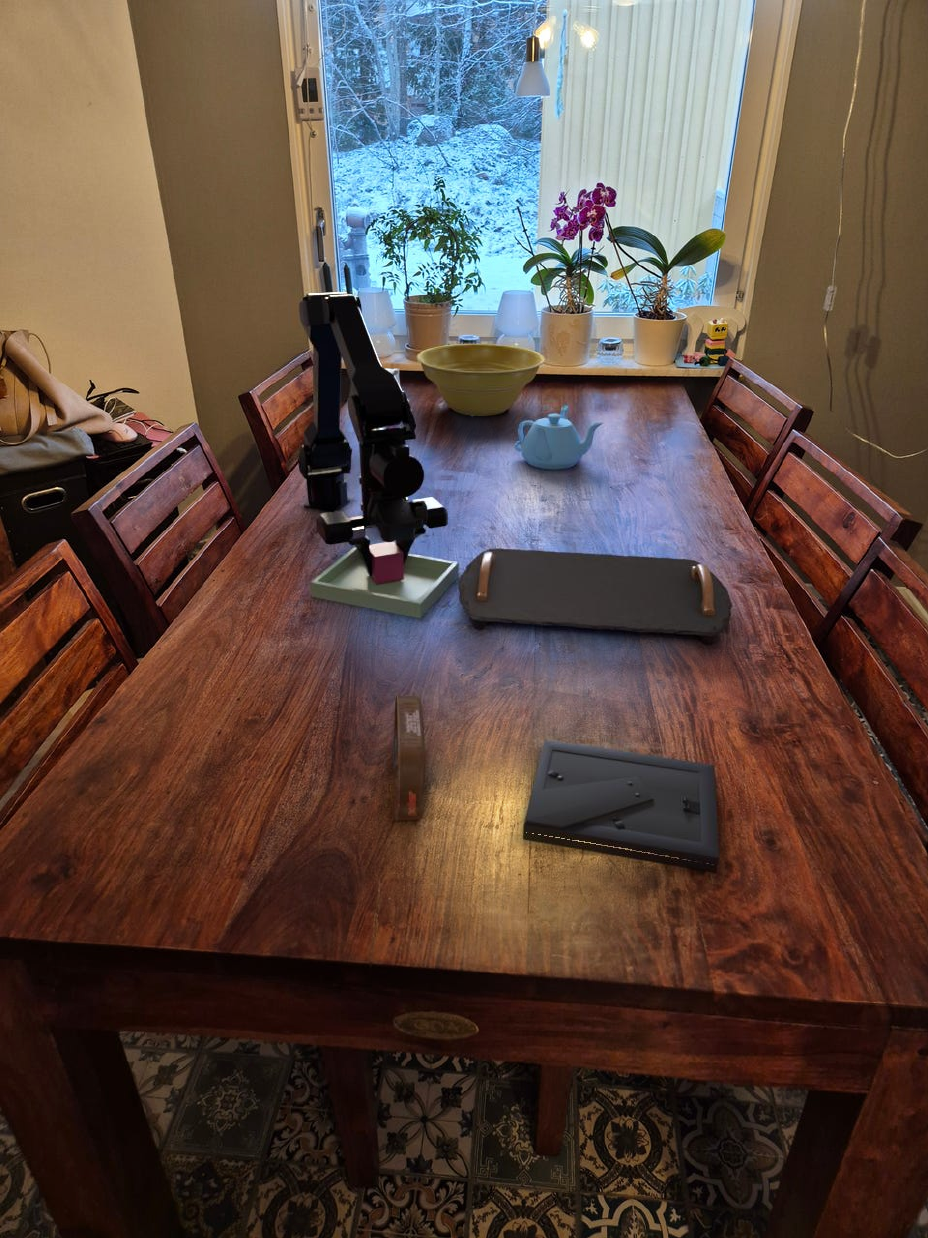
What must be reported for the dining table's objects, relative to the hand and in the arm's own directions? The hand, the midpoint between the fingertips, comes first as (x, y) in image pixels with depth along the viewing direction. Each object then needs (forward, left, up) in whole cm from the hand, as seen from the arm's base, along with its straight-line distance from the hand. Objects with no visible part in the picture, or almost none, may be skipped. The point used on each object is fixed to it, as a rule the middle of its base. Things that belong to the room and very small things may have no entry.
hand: (384, 572), depth 124 cm
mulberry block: (0, 0, -1) cm, 1 cm away
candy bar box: (-29, +59, -2) cm, 66 cm away
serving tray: (+31, +4, -2) cm, 31 cm away
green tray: (+1, -2, -2) cm, 2 cm away
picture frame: (+44, -37, -2) cm, 57 cm away
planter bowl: (-21, +98, -2) cm, 101 cm away
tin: (+23, -42, -2) cm, 48 cm away
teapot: (+9, +64, -2) cm, 65 cm away
